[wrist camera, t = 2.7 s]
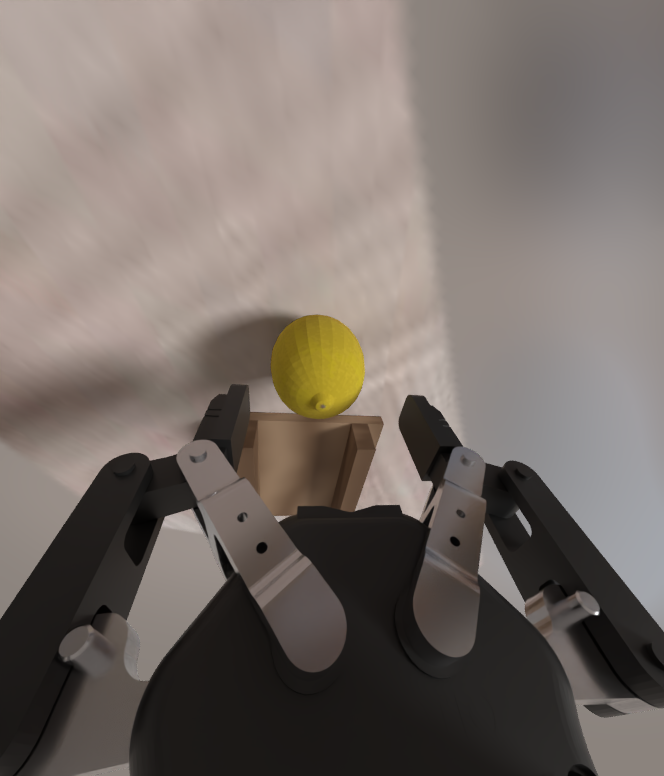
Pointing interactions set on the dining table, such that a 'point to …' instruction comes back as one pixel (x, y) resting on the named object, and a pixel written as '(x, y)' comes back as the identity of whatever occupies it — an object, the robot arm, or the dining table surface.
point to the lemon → (317, 367)
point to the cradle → (308, 459)
